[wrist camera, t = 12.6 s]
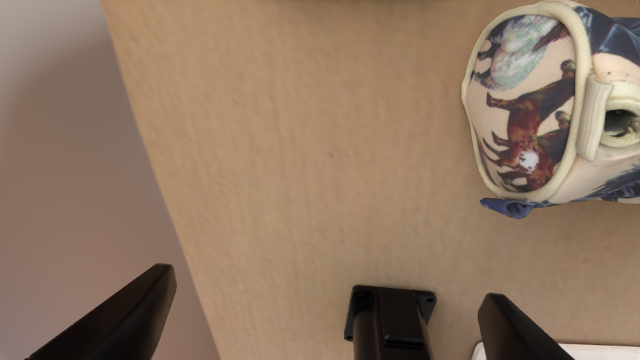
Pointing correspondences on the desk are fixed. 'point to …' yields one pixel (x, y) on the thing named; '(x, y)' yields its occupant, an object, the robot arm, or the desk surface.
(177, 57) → the desk surface
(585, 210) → the desk surface
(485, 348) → the robot arm
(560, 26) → the pencil case
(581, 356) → the smartphone
